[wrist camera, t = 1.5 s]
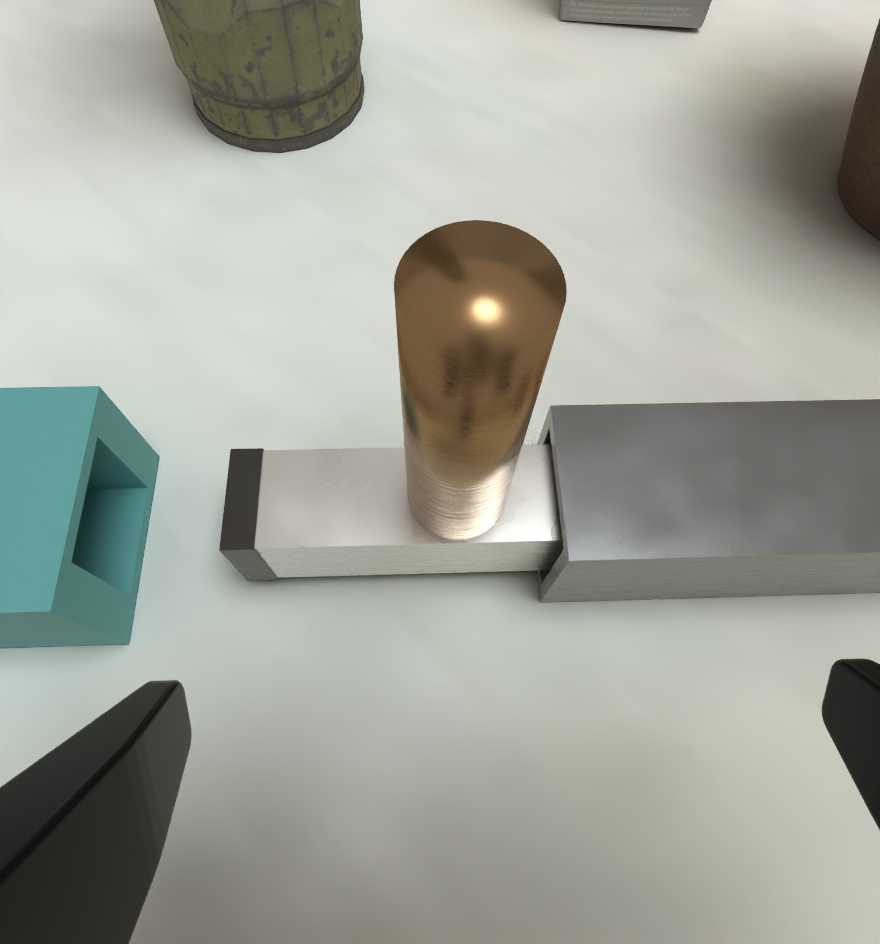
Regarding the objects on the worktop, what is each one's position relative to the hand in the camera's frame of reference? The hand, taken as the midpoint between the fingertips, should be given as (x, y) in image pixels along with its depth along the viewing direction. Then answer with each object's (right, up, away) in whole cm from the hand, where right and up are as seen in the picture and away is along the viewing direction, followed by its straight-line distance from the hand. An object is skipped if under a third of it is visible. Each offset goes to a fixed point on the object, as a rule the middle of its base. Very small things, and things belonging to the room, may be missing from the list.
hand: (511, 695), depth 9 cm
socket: (-15, 0, +14) cm, 21 cm away
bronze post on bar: (+3, +1, +14) cm, 14 cm away
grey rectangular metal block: (+9, +1, +15) cm, 18 cm away
